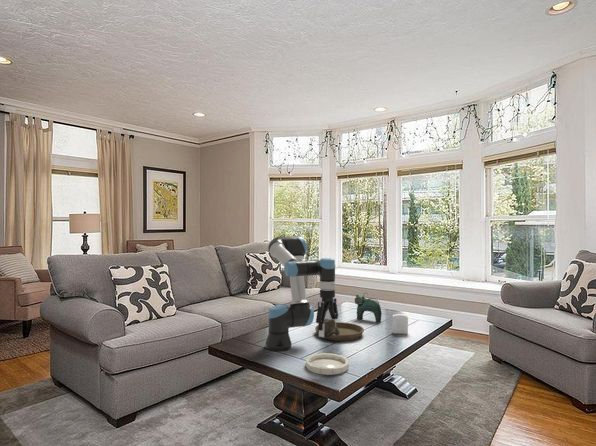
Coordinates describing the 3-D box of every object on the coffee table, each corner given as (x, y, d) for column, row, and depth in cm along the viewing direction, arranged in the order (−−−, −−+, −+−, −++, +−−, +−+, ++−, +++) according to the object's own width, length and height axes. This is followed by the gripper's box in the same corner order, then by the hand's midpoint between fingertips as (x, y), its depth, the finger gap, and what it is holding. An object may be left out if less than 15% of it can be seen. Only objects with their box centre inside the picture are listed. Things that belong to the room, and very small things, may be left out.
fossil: (313, 336, 183) (316, 315, 187) (319, 340, 190) (322, 320, 194) (334, 338, 178) (337, 317, 183) (340, 342, 186) (342, 322, 190)
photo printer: (407, 332, 244) (407, 313, 244) (408, 334, 240) (408, 315, 240) (391, 332, 245) (391, 313, 245) (392, 333, 241) (392, 314, 241)
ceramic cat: (354, 318, 278) (354, 292, 278) (357, 317, 284) (357, 290, 284) (379, 323, 267) (379, 295, 267) (382, 321, 272) (382, 293, 272)
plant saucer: (319, 326, 258) (319, 320, 258) (364, 329, 251) (364, 322, 251) (311, 340, 227) (311, 333, 227) (363, 344, 221) (363, 336, 221)
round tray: (297, 367, 184) (297, 362, 184) (321, 355, 201) (321, 350, 201) (334, 378, 171) (334, 372, 171) (356, 364, 188) (356, 359, 188)
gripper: (321, 293, 175) (321, 341, 175) (345, 287, 193) (345, 330, 193) (308, 291, 179) (308, 338, 179) (332, 285, 197) (332, 327, 197)
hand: (327, 334), depth 186 cm, fingers closed on fossil, 10 cm apart
